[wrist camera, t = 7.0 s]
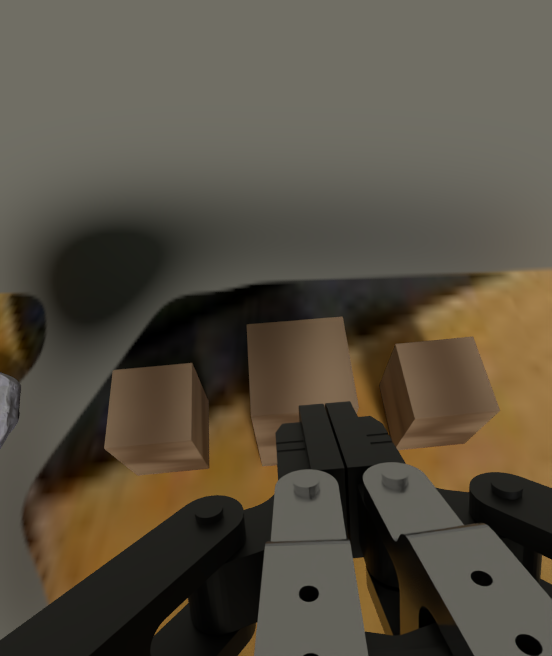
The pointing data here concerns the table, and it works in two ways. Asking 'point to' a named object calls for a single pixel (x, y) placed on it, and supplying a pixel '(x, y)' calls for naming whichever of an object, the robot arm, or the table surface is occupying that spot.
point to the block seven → (158, 419)
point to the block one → (436, 393)
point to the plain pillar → (295, 373)
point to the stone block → (8, 405)
